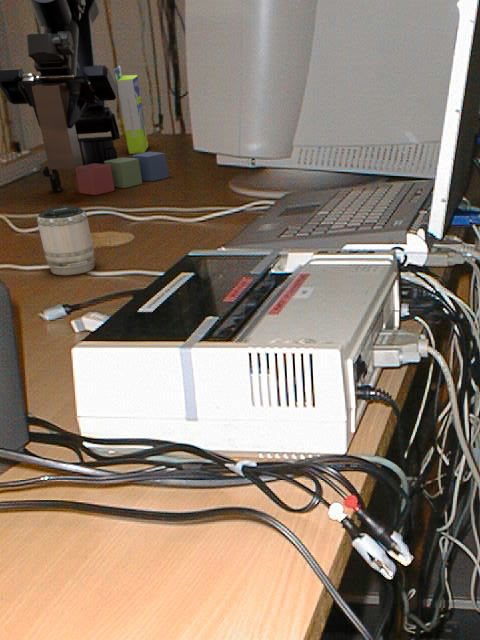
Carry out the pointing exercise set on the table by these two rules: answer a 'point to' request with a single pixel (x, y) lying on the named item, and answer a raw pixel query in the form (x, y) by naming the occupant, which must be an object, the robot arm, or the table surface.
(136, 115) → the box
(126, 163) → the cube
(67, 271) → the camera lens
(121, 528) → the table surface
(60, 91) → the tall block
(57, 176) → the wireless earbuds
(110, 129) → the robot arm
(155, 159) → the cube
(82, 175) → the cube
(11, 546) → the table surface
